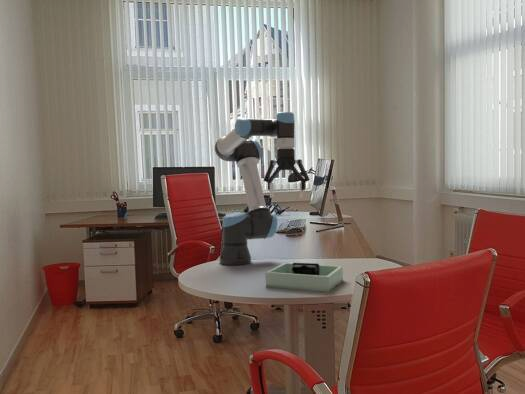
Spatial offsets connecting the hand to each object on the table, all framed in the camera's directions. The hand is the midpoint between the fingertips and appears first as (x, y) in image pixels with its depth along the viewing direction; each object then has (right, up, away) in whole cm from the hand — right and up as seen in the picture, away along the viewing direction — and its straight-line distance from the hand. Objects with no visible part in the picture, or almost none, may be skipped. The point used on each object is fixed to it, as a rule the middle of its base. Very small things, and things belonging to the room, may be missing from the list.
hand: (286, 197), depth 218 cm
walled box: (+6, -33, -23) cm, 41 cm away
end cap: (+6, -32, -23) cm, 40 cm away
